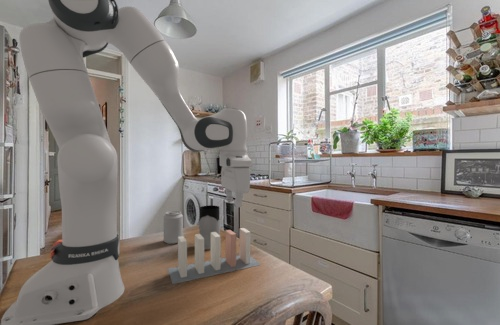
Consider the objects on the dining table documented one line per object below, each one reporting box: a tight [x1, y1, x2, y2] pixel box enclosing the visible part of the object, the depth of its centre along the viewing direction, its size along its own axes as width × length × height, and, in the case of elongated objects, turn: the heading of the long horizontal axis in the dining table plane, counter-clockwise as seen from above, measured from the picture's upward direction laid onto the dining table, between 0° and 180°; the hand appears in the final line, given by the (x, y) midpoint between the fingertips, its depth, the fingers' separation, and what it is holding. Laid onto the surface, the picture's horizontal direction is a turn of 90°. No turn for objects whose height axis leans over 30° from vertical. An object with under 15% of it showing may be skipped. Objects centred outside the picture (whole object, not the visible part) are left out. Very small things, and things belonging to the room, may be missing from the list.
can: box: [163, 210, 184, 245], centre depth 98 cm, size 8×8×12 cm
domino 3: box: [210, 232, 222, 270], centre depth 75 cm, size 2×5×10 cm, turn 26°
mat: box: [167, 254, 262, 285], centre depth 75 cm, size 27×10×1 cm, turn 116°
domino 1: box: [177, 235, 188, 278], centre depth 70 cm, size 2×5×10 cm, turn 26°
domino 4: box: [225, 229, 237, 267], centre depth 77 cm, size 2×5×10 cm, turn 26°
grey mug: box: [198, 204, 221, 250], centre depth 96 cm, size 9×14×15 cm, turn 178°
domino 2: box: [194, 233, 205, 274], centre depth 72 cm, size 2×5×10 cm, turn 26°
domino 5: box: [239, 227, 252, 264], centre depth 79 cm, size 2×5×10 cm, turn 26°
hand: (233, 204), depth 77 cm, fingers open, 8 cm apart
